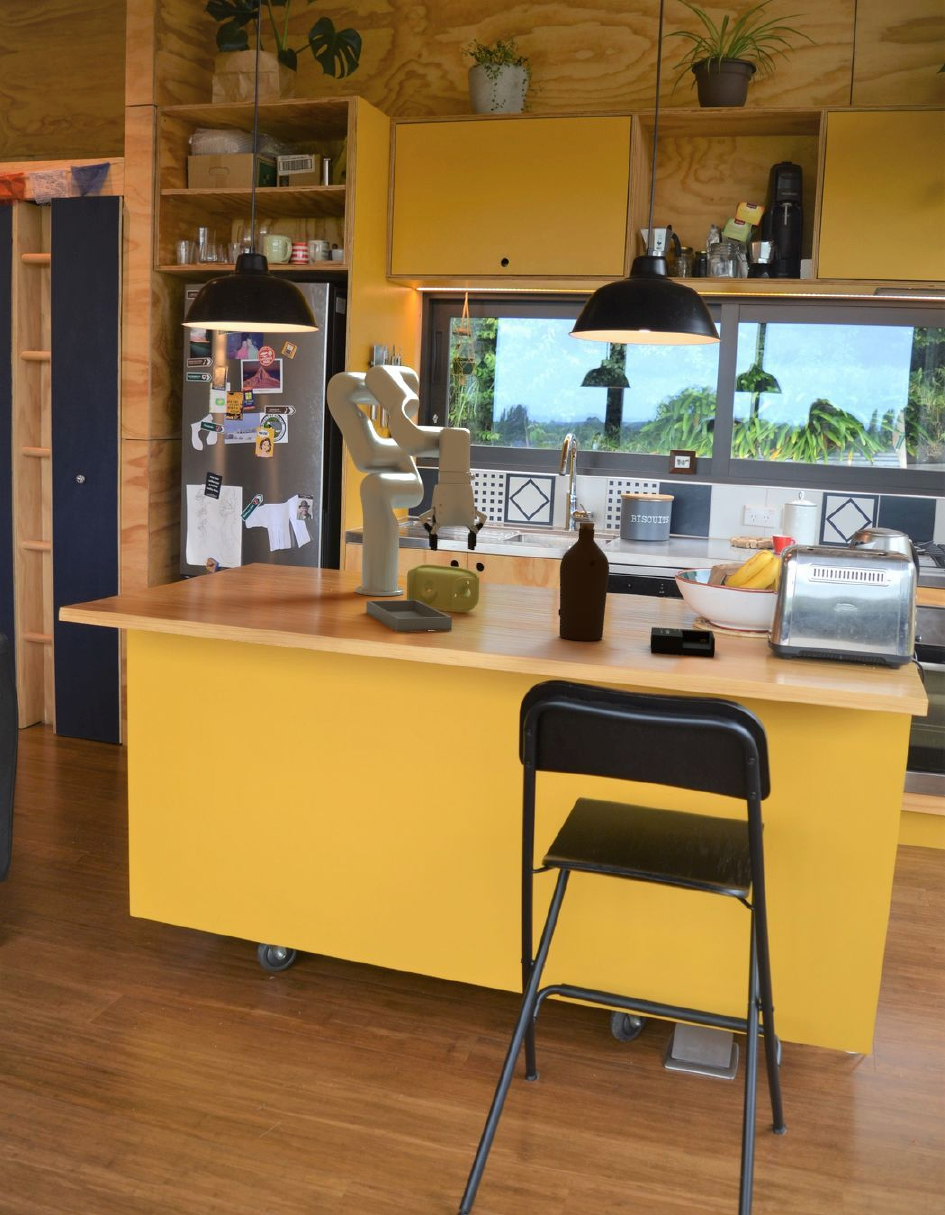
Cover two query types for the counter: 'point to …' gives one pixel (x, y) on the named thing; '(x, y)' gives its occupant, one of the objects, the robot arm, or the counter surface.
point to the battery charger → (682, 642)
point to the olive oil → (583, 588)
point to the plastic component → (443, 587)
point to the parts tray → (408, 615)
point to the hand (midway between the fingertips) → (452, 550)
